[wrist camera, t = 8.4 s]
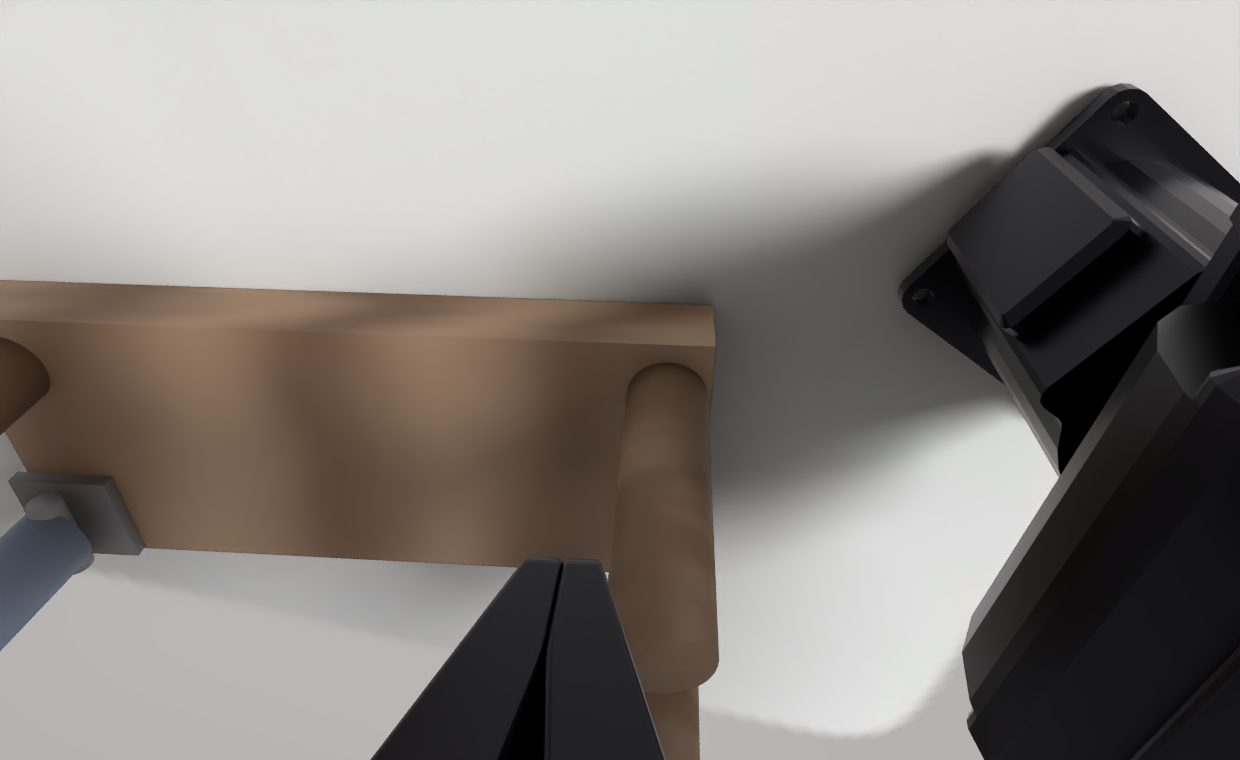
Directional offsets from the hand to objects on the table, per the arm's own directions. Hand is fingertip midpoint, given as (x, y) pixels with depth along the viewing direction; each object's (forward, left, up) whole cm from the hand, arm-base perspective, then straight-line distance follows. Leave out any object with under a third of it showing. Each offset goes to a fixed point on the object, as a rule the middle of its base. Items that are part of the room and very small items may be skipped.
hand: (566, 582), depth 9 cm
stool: (+2, +10, -12) cm, 16 cm away
